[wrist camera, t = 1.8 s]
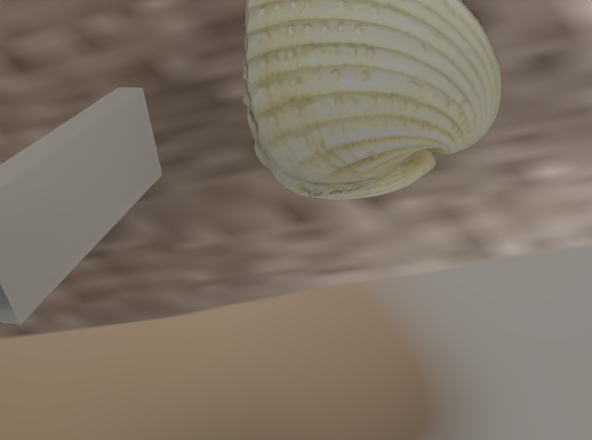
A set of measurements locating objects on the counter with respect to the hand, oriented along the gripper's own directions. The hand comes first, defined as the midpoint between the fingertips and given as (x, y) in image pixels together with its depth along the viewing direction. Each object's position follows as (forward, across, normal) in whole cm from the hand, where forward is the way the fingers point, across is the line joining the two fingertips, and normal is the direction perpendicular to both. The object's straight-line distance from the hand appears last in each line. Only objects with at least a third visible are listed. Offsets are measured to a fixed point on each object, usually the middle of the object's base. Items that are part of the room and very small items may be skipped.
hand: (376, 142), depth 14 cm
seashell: (+7, -1, 0) cm, 7 cm away
